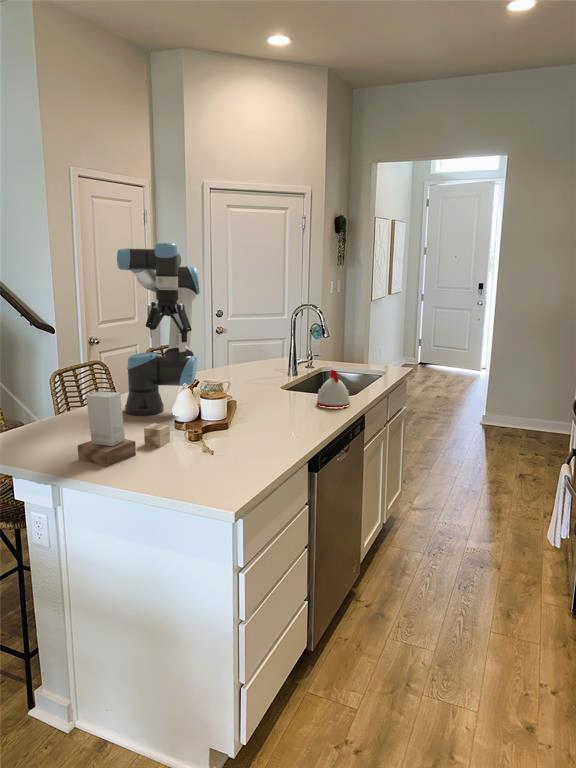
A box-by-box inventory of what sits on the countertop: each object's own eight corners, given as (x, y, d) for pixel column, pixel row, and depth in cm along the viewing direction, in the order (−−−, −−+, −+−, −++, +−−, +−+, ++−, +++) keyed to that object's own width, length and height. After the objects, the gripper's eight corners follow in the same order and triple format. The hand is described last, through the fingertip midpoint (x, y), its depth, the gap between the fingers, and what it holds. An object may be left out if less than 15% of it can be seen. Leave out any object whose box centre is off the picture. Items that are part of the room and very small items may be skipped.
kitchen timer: (341, 400, 259) (342, 366, 256) (354, 407, 246) (356, 373, 243) (312, 402, 255) (313, 368, 251) (324, 410, 242) (325, 374, 239)
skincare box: (125, 441, 182) (122, 392, 179) (111, 447, 176) (108, 397, 173) (103, 437, 185) (100, 389, 182) (89, 444, 179) (85, 394, 176)
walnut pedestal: (78, 460, 179) (77, 445, 178) (107, 449, 189) (107, 435, 188) (107, 468, 173) (106, 452, 172) (135, 456, 184) (135, 441, 183)
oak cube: (144, 445, 193) (143, 428, 192) (154, 440, 199) (153, 423, 198) (160, 447, 191) (159, 430, 190) (169, 442, 197) (169, 425, 196)
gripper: (134, 287, 207) (136, 347, 211) (185, 291, 193) (186, 354, 198) (150, 286, 213) (152, 344, 217) (201, 290, 199) (202, 351, 204)
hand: (168, 349), depth 207 cm, fingers open, 13 cm apart
